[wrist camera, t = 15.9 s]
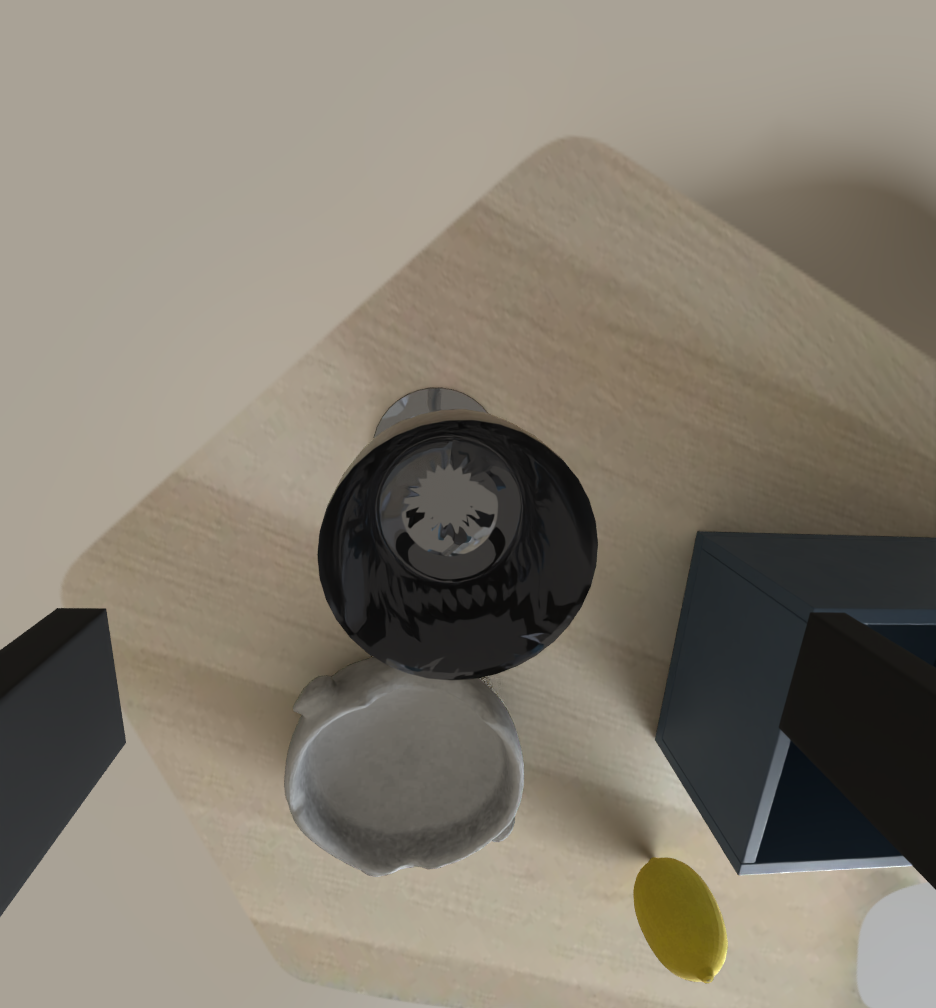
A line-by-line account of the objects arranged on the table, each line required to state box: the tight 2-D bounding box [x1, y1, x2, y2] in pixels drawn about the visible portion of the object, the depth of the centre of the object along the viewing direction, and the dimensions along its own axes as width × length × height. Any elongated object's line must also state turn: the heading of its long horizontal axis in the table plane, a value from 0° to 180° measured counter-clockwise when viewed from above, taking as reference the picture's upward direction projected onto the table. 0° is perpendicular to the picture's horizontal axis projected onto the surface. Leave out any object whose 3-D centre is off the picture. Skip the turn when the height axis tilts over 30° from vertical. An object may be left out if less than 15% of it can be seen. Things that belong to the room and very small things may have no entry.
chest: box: [655, 531, 936, 875], centre depth 31 cm, size 20×16×10 cm
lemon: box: [634, 858, 728, 983], centre depth 36 cm, size 6×6×8 cm
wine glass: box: [318, 388, 598, 680], centre depth 22 cm, size 8×8×15 cm
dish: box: [284, 657, 524, 877], centre depth 32 cm, size 14×14×5 cm
